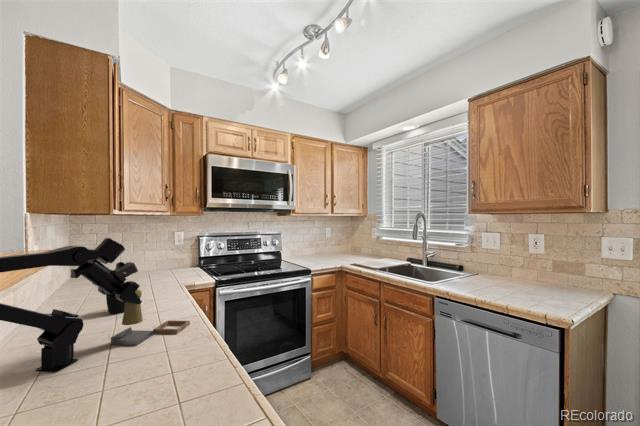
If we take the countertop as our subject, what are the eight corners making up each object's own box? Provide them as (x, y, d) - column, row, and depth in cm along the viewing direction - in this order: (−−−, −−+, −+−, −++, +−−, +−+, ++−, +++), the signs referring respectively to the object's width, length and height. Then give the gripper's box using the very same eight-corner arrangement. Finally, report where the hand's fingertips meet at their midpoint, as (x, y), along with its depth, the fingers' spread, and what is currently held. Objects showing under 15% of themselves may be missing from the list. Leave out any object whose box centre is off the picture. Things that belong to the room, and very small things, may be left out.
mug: (132, 311, 129) (132, 289, 129) (108, 316, 122) (108, 292, 123) (125, 306, 137) (125, 284, 137) (102, 310, 131) (102, 288, 131)
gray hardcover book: (136, 345, 94) (136, 337, 94) (110, 344, 95) (110, 337, 95) (153, 334, 103) (153, 327, 103) (129, 334, 103) (129, 327, 104)
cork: (132, 325, 95) (133, 292, 96) (117, 324, 97) (117, 291, 97) (146, 319, 101) (147, 288, 102) (132, 318, 102) (132, 287, 103)
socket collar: (176, 334, 104) (176, 329, 104) (153, 333, 104) (153, 329, 104) (189, 324, 113) (189, 320, 113) (167, 324, 113) (167, 320, 113)
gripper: (133, 257, 91) (167, 285, 100) (109, 253, 102) (142, 279, 110) (103, 287, 84) (142, 314, 93) (81, 279, 95) (118, 305, 104)
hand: (137, 301), depth 100 cm, fingers closed on cork, 5 cm apart
